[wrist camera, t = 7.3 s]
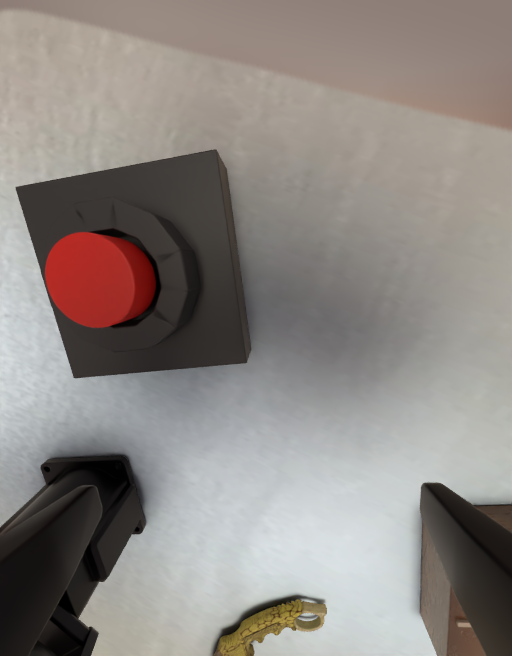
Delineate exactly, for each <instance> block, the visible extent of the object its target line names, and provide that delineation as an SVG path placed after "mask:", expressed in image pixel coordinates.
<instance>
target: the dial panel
mask: <svg viewBox="0 0 512 656" xmlns="http://www.w3.org/2000/svg"><path fill="white" fill-rule="evenodd" d="M475 507H476V508H478V509H479V510H480V511H482V512H483V513H485V514H486V515H488V516H489V517H491V518H492V519H493V520H495V521H496V522H498V523H499V524H501V525H502V526H503V527H505V528H506V529H508V530H509V531H511V532H512V505H500V506H475ZM421 617H422V619H423V622H424V624H425V627H426V629H427V632H428V634H429V636H430V639H431V641H432V644H433V646H434V649H435V651H436V653H437V656H486V654H485V652H484V650H483V648H482V646H481V644H480V642H479V640H478V639H477V637H476V635H475V633H474V631H473V629H472V627H471V625H470V623H469V621H468V619H467V618H466V616H465V614H464V612H463V610H462V608H461V606H460V604H459V602H458V600H457V598H456V596H455V593H454V591H453V589H452V587H451V585H450V582H449V580H448V578H447V575H446V573H445V571H444V568H443V566H442V564H441V561H440V559H439V557H438V554H437V552H436V550H435V547H434V545H433V543H432V541H431V538H430V536H429V534H428V531H427V529H426V527H425V524H424V522H423V535H422V577H421Z"/></svg>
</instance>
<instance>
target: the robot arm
mask: <svg viewBox="0 0 512 656" xmlns="http://www.w3.org/2000/svg"><path fill="white" fill-rule="evenodd" d="M119 463H120V464H119ZM41 471H42V474H43V476H44V479H45V482H46V485H45V486H44V487H43V488H42V489H41V490H40V491H39V492H38V493H37V494H36V495H34V496H33V497H32V498H31V499H30V500H29V501H28V502H27V503H26V504H25V505H24V506H23V507H22V508H21V509H19V510H18V511H17V512H16V513H15V514H14V515H13V516H12V517H11V518H10V519H9V520H8V521H7V522H6V523H4V524H3V525H2V526H1V527H0V656H91V654H92V651H93V648H94V646H95V643H96V640H97V637H98V634H99V633H98V632H97V631H96V630H95V629H94V628H93V627H89V628H88V627H87V626H86V625H85V624H84V623H83V622H81V621H80V620H79V619H78V618H79V616H80V615H81V613H82V611H83V609H84V608H85V606H86V604H87V602H88V601H89V599H90V597H91V595H92V594H93V592H94V590H95V588H96V587H97V585H98V583H99V582H104V581H105V580H106V579H107V577H108V576H109V575H110V573H111V571H112V569H113V567H114V565H115V564H116V562H117V560H118V558H119V556H120V555H121V553H122V551H123V549H124V547H125V546H126V544H127V542H128V540H129V538H130V536H131V535H132V534H141V533H142V532H143V530H144V528H145V526H146V523H145V520H144V516H143V512H142V509H141V505H140V502H139V498H138V494H137V491H136V487H135V484H134V480H133V476H132V473H131V469H130V466H129V462H128V460H127V458H126V457H124V456H102V457H82V458H62V459H48V460H47V461H46V462H44V463H43V464H42V465H41ZM420 513H421V517H422V519H423V522H424V524H425V527H426V529H427V531H428V534H429V536H430V538H431V541H432V543H433V545H434V547H435V550H436V552H437V554H438V557H439V559H440V561H441V564H442V566H443V568H444V571H445V573H446V575H447V578H448V580H449V582H450V585H451V587H452V589H453V591H454V593H455V596H456V598H457V600H458V602H459V604H460V606H461V608H462V610H463V612H464V614H465V616H466V618H467V619H468V621H469V623H470V625H471V627H472V629H473V631H474V633H475V635H476V637H477V639H478V640H479V642H480V644H481V646H482V648H483V650H484V652H485V654H486V656H512V532H511V531H509V530H508V529H506V528H505V527H503V526H502V525H501V524H499V523H498V522H496V521H495V520H493V519H492V518H491V517H489V516H488V515H486V514H485V513H483V512H482V511H480V510H479V509H478V508H476V507H475V506H473V505H472V504H470V503H469V502H467V501H466V500H465V499H463V498H462V497H460V496H459V495H457V494H456V493H454V492H453V491H452V490H450V489H449V488H447V487H446V486H444V485H443V484H441V483H423V484H422V487H421V499H420Z"/></svg>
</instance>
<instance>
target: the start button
mask: <svg viewBox="0 0 512 656" xmlns="http://www.w3.org/2000/svg"><path fill="white" fill-rule="evenodd" d="M45 278H46V284H47V288H48V291H49V293H50V295H51V297H52V299H53V301H54V303H55V304H56V306H57V307H58V308H59V309H60V310H61V311H62V312H63V313H64V314H65V315H66V316H67V317H68V318H70V319H71V320H73V321H74V322H76V323H78V324H81V325H84V326H87V327H92V328H104V327H109V326H112V325H115V324H118V323H121V322H124V321H126V320H129V319H132V318H135V317H137V316H139V315H141V314H142V313H143V312H145V311H146V310H147V308H148V307H149V306H150V304H151V302H152V300H153V298H154V295H155V290H156V278H155V273H154V270H153V267H152V265H151V263H150V261H149V259H148V258H147V256H146V255H145V254H144V253H143V251H142V250H141V249H139V248H138V247H137V246H136V245H134V244H133V243H131V242H129V241H127V240H124V239H121V238H117V237H111V236H106V235H101V234H96V233H90V232H77V233H73V234H70V235H68V236H65V237H64V238H62V239H60V240H59V241H58V242H57V243H56V244H55V245H54V246H53V248H52V249H51V251H50V253H49V255H48V258H47V261H46V267H45Z"/></svg>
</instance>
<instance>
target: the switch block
mask: <svg viewBox="0 0 512 656" xmlns="http://www.w3.org/2000/svg"><path fill="white" fill-rule="evenodd" d="M16 191H17V194H18V197H19V201H20V204H21V207H22V210H23V214H24V217H25V220H26V223H27V227H28V230H29V233H30V237H31V240H32V243H33V246H34V250H35V253H36V256H37V259H38V263H39V266H40V269H41V274H42V277H43V280H44V284H45V287H46V290H47V293H48V297H49V300H50V303H51V306H52V308H53V311H54V315H55V318H56V321H57V324H58V328H59V331H60V334H61V337H62V341H63V344H64V347H65V350H66V354H67V357H68V360H69V363H70V367H71V370H72V373H73V376H74V378H83V377H95V376H106V375H117V374H128V373H139V372H151V371H162V370H173V369H184V368H195V367H207V366H218V365H229V364H240V363H247V360H248V357H249V354H250V351H251V345H250V337H249V330H248V323H247V315H246V308H245V301H244V294H243V286H242V279H241V272H240V264H239V257H238V250H237V242H236V235H235V228H234V221H233V213H232V206H231V199H230V191H229V184H228V177H227V170H226V167H225V165H224V163H223V161H222V160H221V158H220V156H219V154H218V152H217V150H210V151H205V152H199V153H194V154H189V155H183V156H178V157H173V158H168V159H162V160H157V161H152V162H146V163H141V164H136V165H130V166H125V167H120V168H114V169H109V170H104V171H98V172H93V173H88V174H83V175H77V176H72V177H67V178H61V179H56V180H51V181H45V182H40V183H35V184H29V185H24V186H19V187H16ZM77 232H90V233H96V234H101V235H106V236H111V237H117V238H121V239H124V240H127V241H129V242H131V243H133V244H134V245H136V246H137V247H138V248H139V249H141V250H142V251H143V253H144V254H145V255H146V256H147V258H148V259H149V261H150V263H151V265H152V267H153V270H154V273H155V278H156V290H155V295H154V298H153V300H152V302H151V304H150V306H149V307H148V308H147V310H146V311H145V312H143V313H142V314H141V315H139V316H137V317H135V318H132V319H129V320H126V321H124V322H121V323H118V324H115V325H112V326H109V327H104V328H92V327H87V326H84V325H81V324H78V323H76V322H74V321H73V320H71V319H70V318H68V317H67V316H66V315H65V314H64V313H63V312H62V311H61V310H60V309H59V308H58V307H57V306H56V304H55V303H54V301H53V299H52V297H51V295H50V293H49V291H48V288H47V284H46V278H45V267H46V261H47V258H48V255H49V253H50V251H51V249H52V248H53V246H54V245H55V244H56V243H57V242H58V241H59V240H60V239H62V238H64V237H65V236H68V235H70V234H73V233H77Z"/></svg>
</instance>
